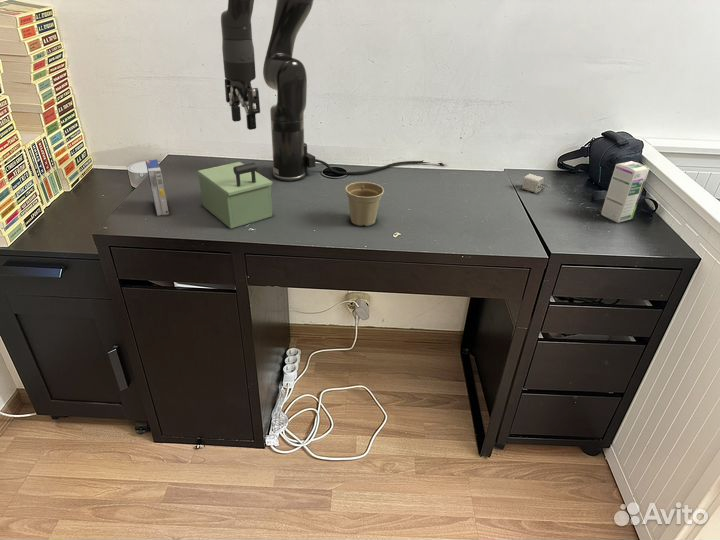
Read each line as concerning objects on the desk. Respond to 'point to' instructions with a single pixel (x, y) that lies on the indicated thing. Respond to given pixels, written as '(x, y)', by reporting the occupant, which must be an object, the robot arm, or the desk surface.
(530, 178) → the usb wall charger
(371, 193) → the flower pot
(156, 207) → the walkman
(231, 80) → the robot arm
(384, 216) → the desk surface
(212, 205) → the bin
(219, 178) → the lid
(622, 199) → the syrup box
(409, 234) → the desk surface
